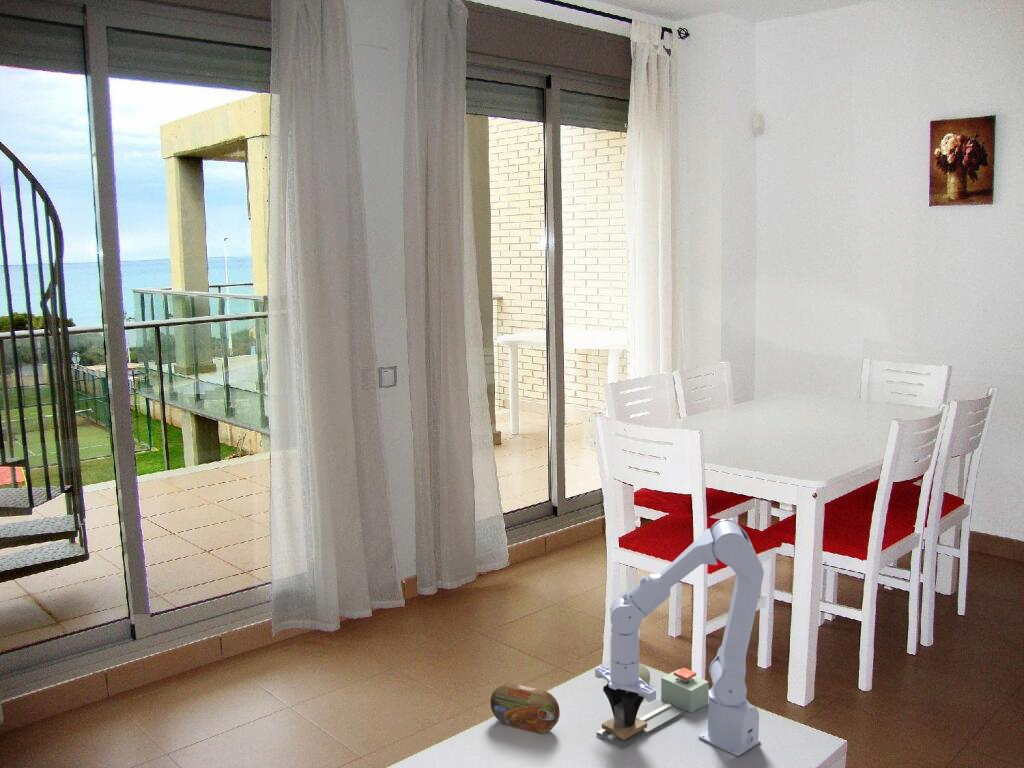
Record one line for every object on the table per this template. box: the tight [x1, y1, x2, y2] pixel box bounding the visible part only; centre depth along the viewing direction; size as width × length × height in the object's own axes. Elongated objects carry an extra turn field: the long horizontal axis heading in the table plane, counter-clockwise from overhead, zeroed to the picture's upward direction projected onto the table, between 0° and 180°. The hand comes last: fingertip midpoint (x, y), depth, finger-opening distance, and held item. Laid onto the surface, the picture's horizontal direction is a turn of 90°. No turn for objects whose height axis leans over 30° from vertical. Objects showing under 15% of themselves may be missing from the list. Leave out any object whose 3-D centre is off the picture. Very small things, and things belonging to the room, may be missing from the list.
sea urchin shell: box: [626, 662, 651, 693], centre depth 204 cm, size 9×8×8 cm
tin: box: [490, 682, 561, 734], centre depth 187 cm, size 15×3×8 cm, turn 62°
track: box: [596, 699, 684, 750], centre depth 187 cm, size 7×19×1 cm, turn 132°
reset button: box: [673, 667, 697, 684], centre depth 196 cm, size 3×3×2 cm
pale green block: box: [660, 668, 710, 714], centre depth 196 cm, size 8×6×5 cm
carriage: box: [601, 702, 647, 740], centre depth 183 cm, size 6×7×5 cm
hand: (624, 721), depth 184 cm, fingers closed on carriage, 2 cm apart
